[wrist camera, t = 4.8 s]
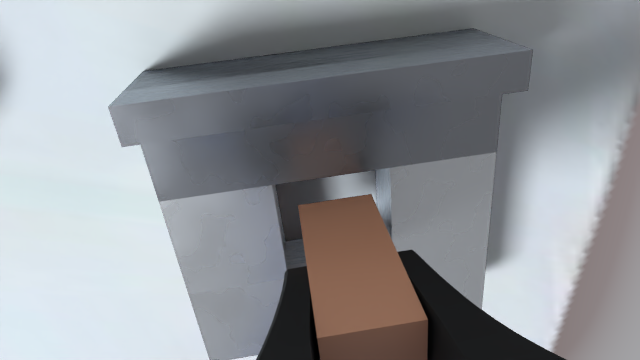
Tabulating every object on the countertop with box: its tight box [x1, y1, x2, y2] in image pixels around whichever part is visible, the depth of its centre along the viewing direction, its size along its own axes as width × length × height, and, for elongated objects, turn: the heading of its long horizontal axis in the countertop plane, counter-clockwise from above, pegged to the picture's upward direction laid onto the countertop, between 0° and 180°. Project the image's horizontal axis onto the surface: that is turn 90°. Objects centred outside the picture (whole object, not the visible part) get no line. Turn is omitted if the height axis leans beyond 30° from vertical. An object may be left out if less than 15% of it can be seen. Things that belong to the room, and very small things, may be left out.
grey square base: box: [108, 28, 533, 360], centre depth 17 cm, size 12×12×4 cm
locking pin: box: [298, 194, 428, 360], centre depth 13 cm, size 3×3×6 cm
